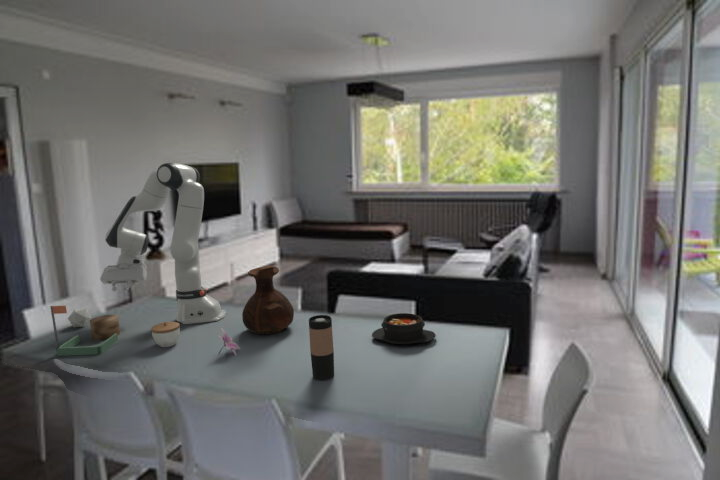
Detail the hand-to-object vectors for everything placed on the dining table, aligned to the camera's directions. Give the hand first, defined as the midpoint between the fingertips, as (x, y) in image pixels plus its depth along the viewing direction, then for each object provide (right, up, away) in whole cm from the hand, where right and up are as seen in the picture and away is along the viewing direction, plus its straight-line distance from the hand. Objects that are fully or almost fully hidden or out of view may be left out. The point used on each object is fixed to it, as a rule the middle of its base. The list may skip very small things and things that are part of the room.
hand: (119, 290), depth 231 cm
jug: (+71, -15, -16) cm, 75 cm away
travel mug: (+98, -22, -63) cm, 119 cm away
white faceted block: (-18, -17, +1) cm, 25 cm away
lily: (+60, -20, -40) cm, 75 cm away
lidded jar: (+32, -19, -28) cm, 47 cm away
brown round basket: (+1, -18, -13) cm, 23 cm away
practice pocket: (0, -20, -27) cm, 34 cm away
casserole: (+127, -16, -34) cm, 133 cm away
